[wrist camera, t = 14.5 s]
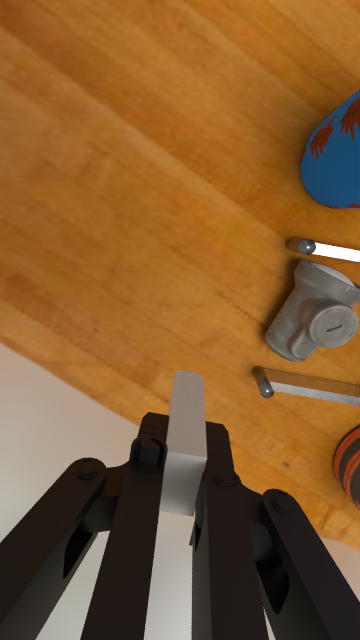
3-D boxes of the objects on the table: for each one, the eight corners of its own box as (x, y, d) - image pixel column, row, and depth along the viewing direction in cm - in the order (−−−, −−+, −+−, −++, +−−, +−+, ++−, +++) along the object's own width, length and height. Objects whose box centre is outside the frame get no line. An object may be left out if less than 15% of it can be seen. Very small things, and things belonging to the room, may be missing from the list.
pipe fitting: (296, 248, 40) (329, 270, 30) (348, 274, 41) (395, 304, 32) (247, 325, 44) (263, 365, 35) (296, 347, 46) (323, 391, 36)
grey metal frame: (251, 375, 45) (259, 396, 40) (288, 236, 40) (303, 238, 34) (371, 396, 46) (396, 421, 40) (425, 261, 40) (463, 267, 34)
